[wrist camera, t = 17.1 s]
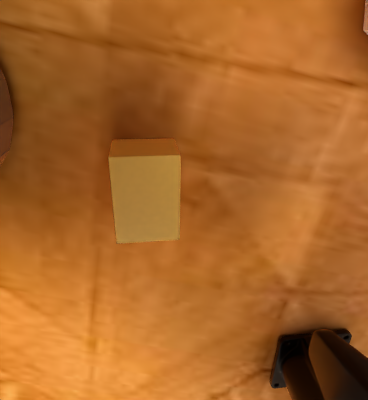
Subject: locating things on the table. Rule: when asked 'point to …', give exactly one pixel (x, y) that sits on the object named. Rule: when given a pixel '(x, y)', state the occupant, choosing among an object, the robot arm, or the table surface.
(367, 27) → the cup
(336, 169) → the table surface
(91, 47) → the table surface
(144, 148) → the block
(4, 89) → the bowl
